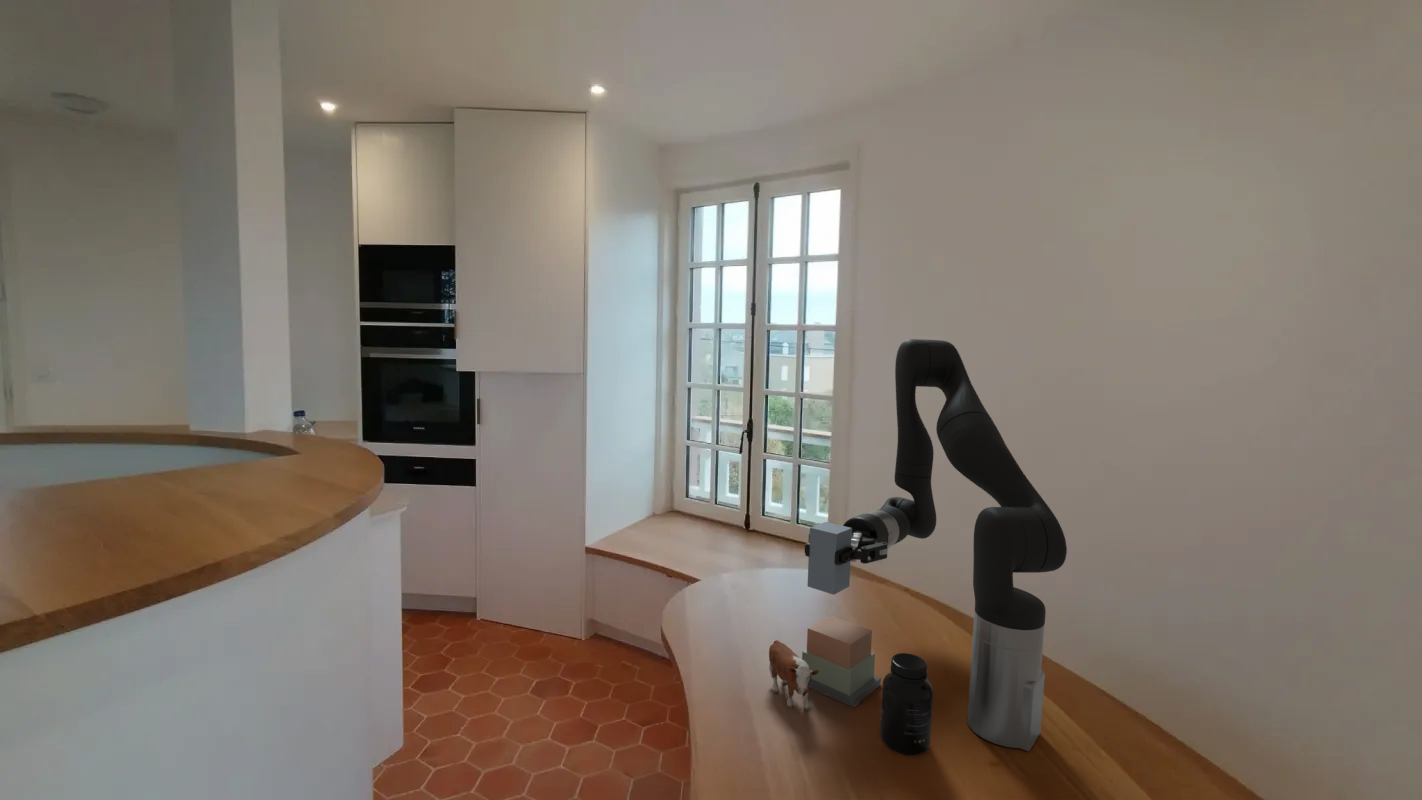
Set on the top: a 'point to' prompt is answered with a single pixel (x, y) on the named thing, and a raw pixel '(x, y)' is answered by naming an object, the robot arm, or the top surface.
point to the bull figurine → (790, 672)
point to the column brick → (828, 557)
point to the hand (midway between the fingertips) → (821, 554)
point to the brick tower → (841, 660)
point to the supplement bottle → (906, 706)
